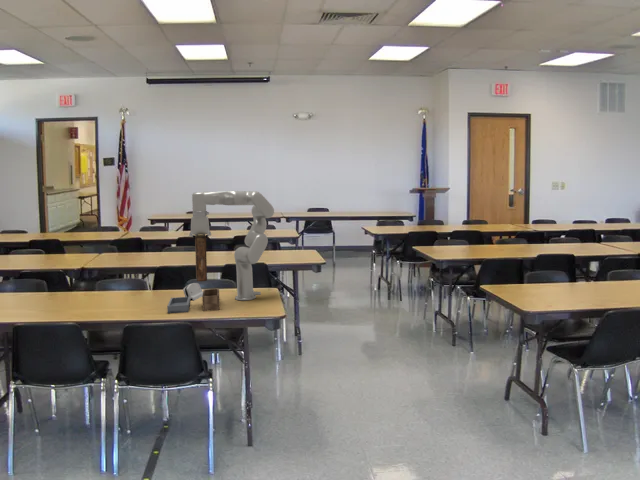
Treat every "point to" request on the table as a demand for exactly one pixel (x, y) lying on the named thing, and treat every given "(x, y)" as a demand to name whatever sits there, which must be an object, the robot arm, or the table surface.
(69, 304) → the table surface
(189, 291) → the white gray electronic device
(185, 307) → the tray
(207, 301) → the frame
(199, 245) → the book
